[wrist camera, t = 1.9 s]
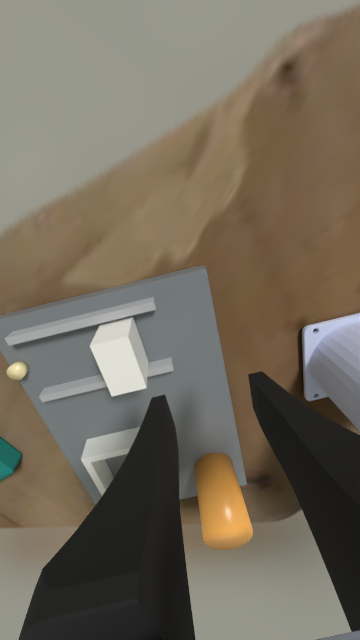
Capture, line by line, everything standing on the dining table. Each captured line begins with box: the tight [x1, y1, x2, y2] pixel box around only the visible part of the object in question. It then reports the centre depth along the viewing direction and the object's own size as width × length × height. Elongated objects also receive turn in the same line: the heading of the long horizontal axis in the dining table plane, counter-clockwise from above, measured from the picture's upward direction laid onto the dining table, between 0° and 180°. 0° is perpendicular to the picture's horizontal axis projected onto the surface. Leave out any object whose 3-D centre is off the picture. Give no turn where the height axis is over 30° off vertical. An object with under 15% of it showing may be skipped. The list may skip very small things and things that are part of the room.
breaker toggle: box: [90, 316, 148, 396], centre depth 18 cm, size 2×4×3 cm, turn 13°
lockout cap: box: [194, 453, 253, 550], centre depth 23 cm, size 4×4×6 cm
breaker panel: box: [0, 265, 247, 505], centre depth 22 cm, size 16×24×3 cm, turn 13°
